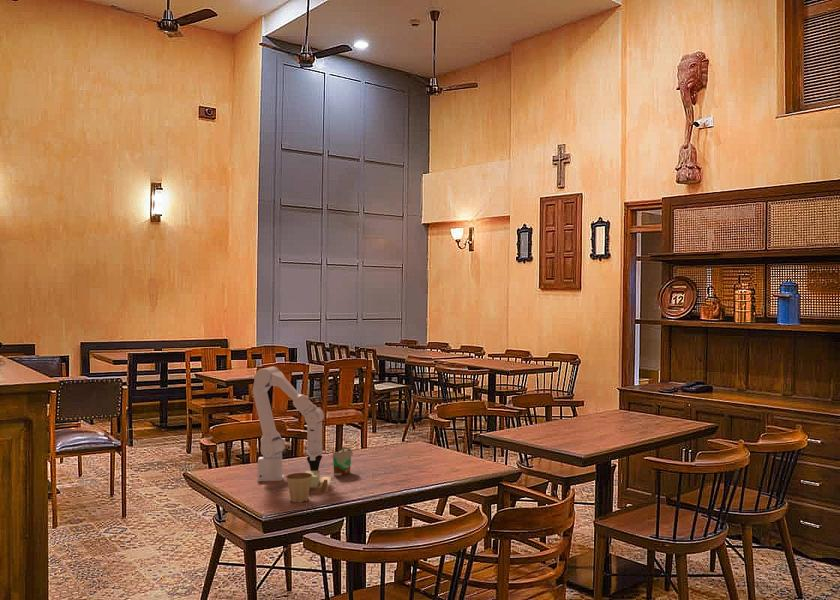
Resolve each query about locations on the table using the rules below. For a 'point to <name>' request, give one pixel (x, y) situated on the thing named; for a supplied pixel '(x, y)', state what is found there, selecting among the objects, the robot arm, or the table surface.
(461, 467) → the table surface
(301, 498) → the flower pot
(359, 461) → the table surface
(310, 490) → the dock board
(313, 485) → the cream rectangular block
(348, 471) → the food container
